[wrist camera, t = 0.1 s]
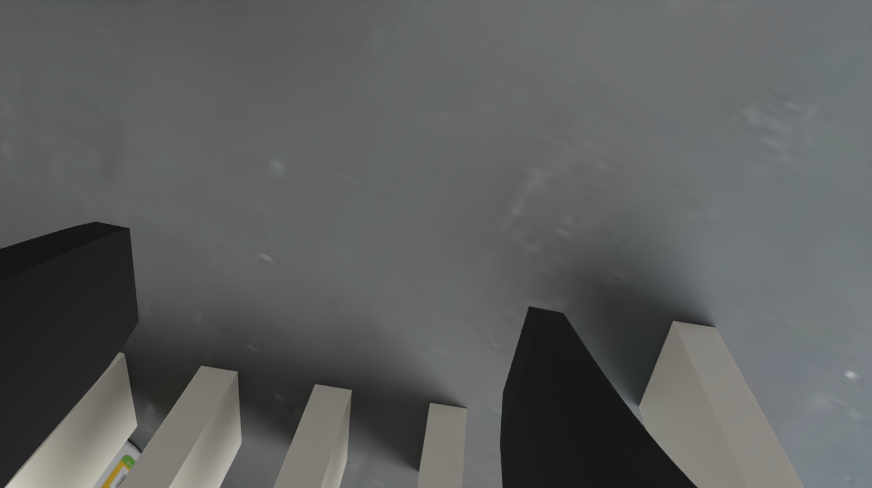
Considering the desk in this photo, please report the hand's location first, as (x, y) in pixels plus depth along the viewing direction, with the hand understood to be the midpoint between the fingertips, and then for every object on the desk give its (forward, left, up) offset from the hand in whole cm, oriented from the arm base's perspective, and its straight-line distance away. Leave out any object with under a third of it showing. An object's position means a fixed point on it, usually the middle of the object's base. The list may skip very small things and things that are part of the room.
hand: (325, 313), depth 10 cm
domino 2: (-14, +7, -10) cm, 18 cm away
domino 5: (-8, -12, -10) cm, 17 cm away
